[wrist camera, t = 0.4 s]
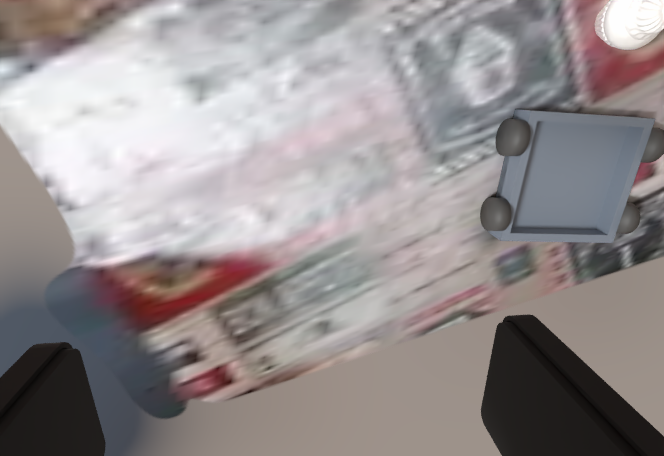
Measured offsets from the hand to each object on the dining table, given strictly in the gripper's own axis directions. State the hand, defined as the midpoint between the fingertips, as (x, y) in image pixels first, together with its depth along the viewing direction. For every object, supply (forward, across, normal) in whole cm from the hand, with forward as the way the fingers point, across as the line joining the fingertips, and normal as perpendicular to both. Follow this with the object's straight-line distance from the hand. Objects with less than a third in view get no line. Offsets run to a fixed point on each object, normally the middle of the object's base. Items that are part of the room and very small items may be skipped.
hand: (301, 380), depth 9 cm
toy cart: (+36, -33, +4) cm, 48 cm away
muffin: (+36, -35, -13) cm, 51 cm away
